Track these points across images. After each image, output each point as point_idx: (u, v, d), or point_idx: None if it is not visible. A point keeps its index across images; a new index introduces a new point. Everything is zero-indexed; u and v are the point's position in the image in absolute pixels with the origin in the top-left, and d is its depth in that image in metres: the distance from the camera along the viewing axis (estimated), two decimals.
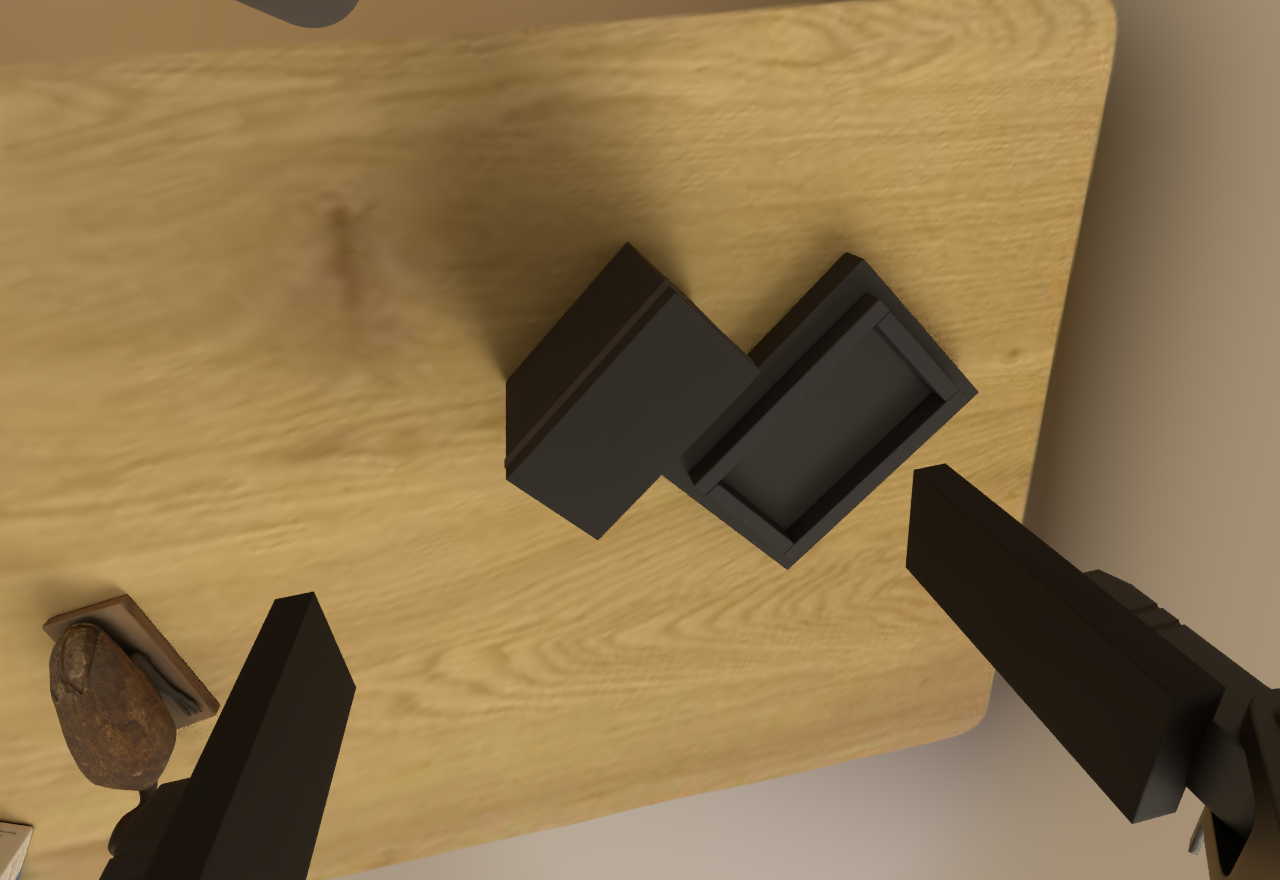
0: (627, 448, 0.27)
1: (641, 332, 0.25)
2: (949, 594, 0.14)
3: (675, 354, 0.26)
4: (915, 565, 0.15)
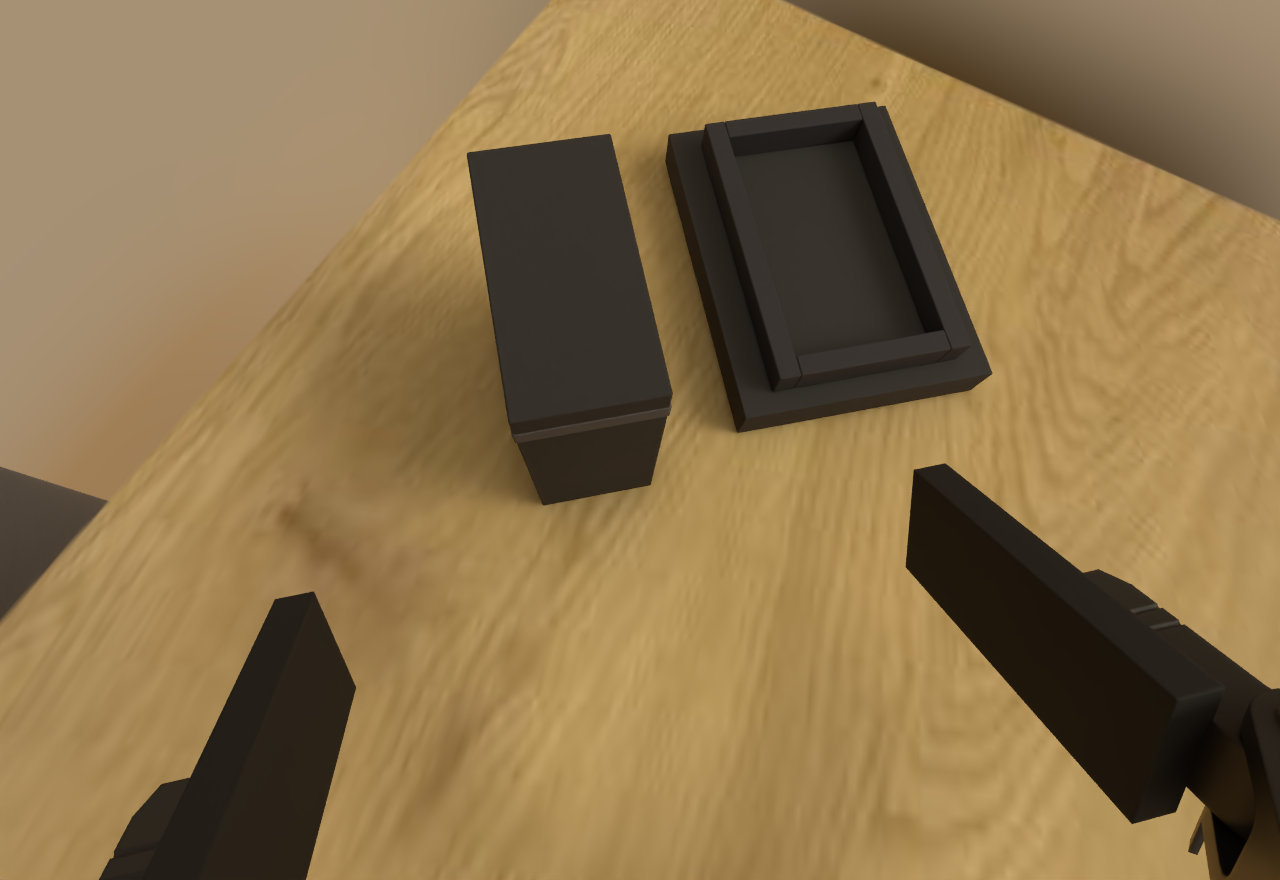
0: (583, 288, 0.21)
1: (476, 199, 0.22)
2: (949, 594, 0.14)
3: (524, 186, 0.22)
4: (915, 565, 0.15)
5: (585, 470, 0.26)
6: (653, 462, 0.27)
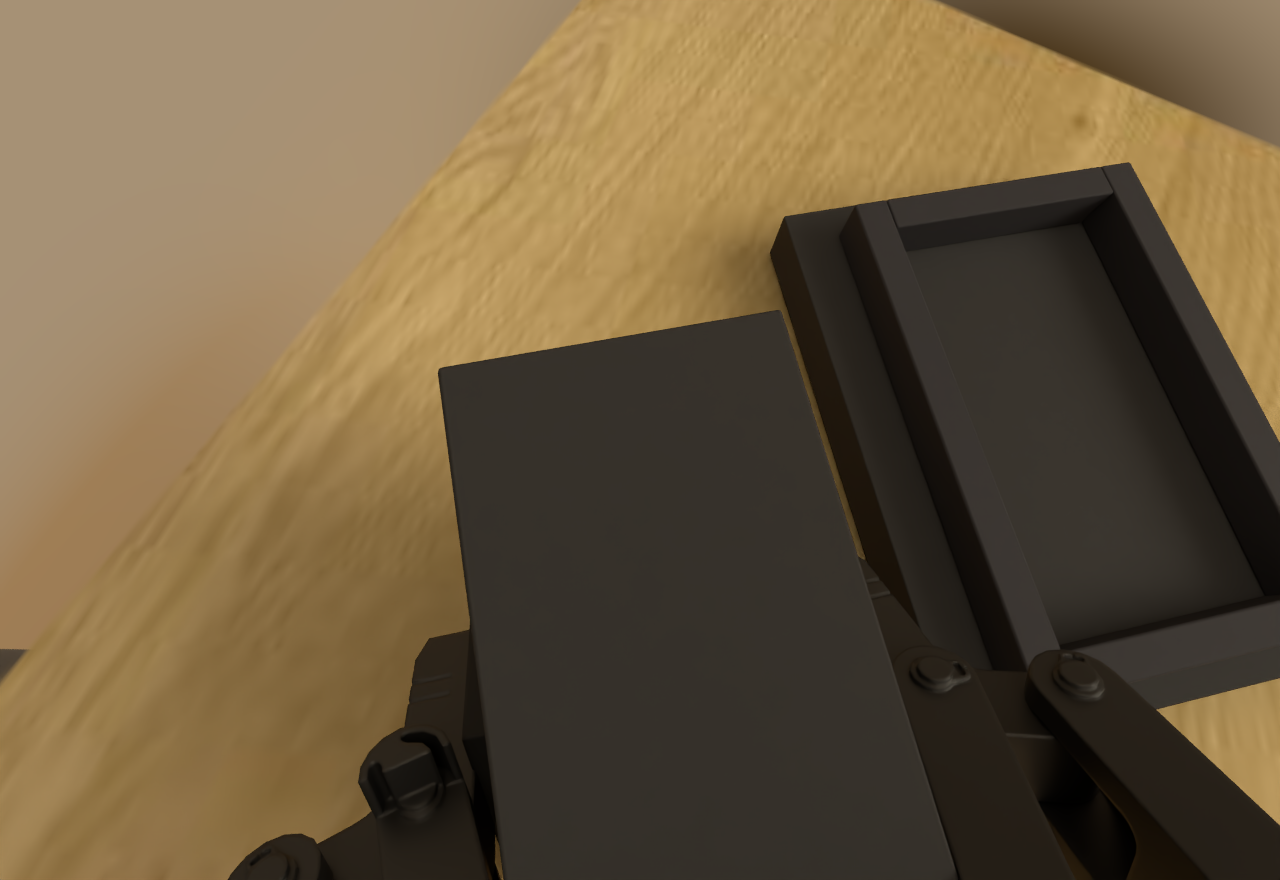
0: (754, 778, 0.08)
1: (462, 502, 0.09)
2: None
3: (583, 461, 0.09)
4: None
5: None
6: None
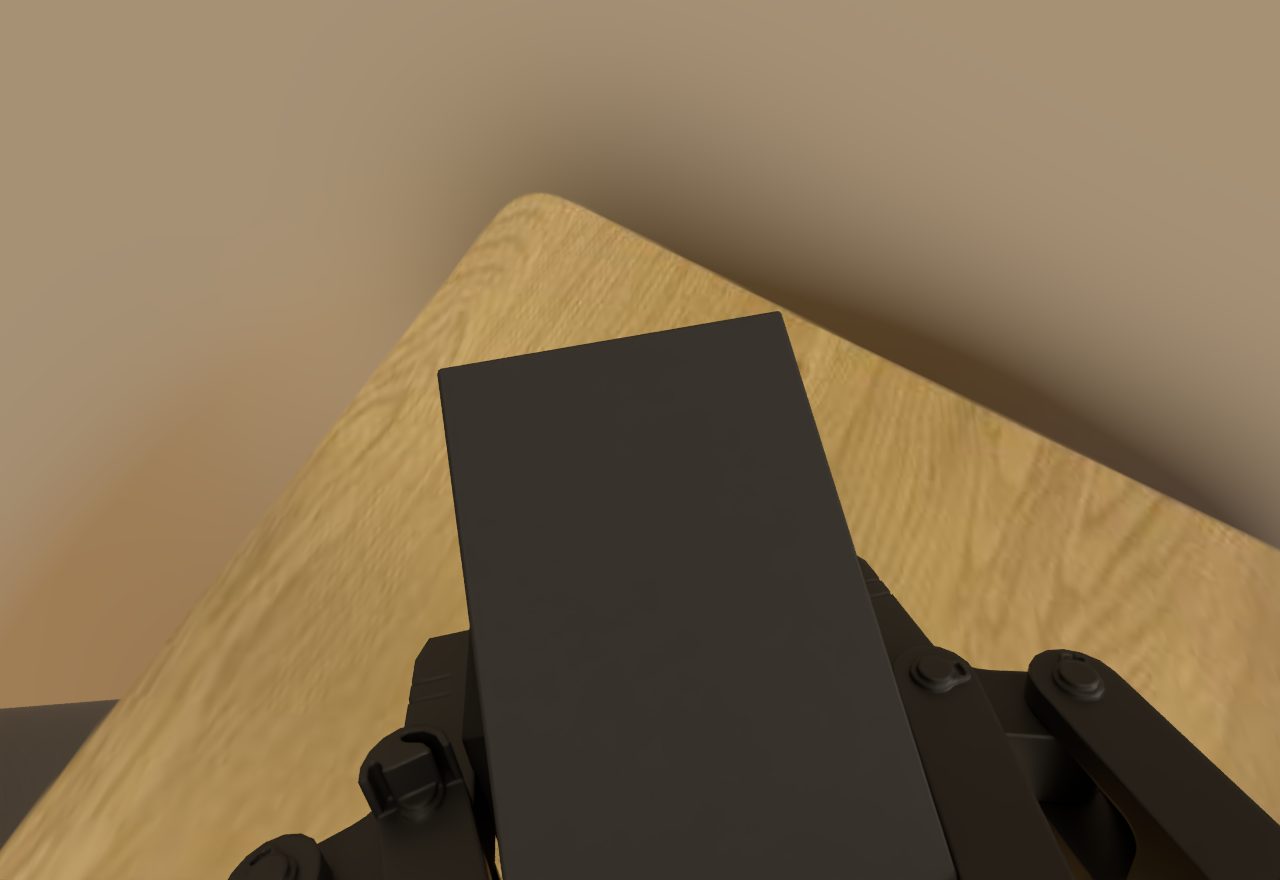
0: (753, 780, 0.08)
1: (461, 503, 0.09)
2: None
3: (582, 463, 0.09)
4: None
5: None
6: None
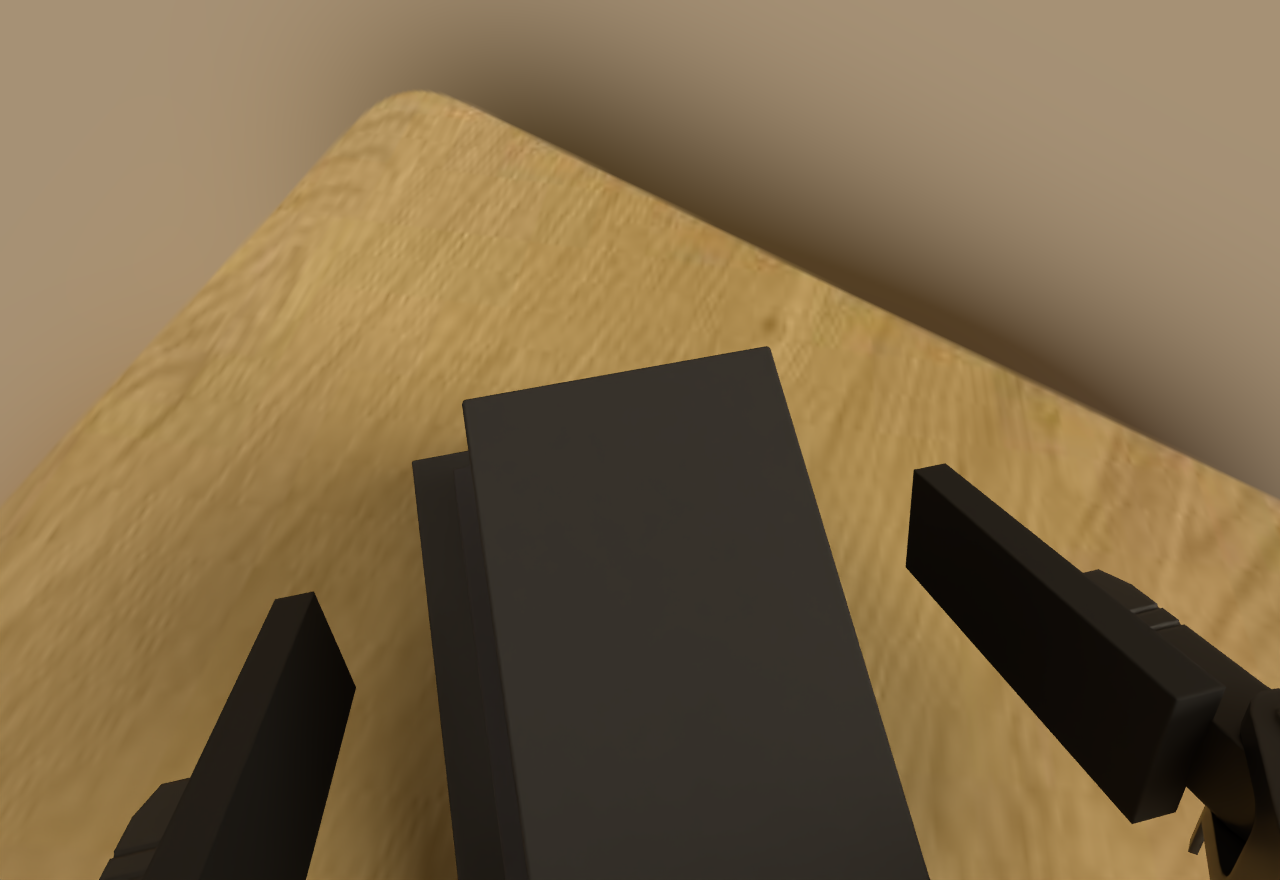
0: (743, 765, 0.09)
1: (484, 521, 0.10)
2: (949, 594, 0.14)
3: (591, 484, 0.10)
4: (915, 565, 0.15)
5: None
6: None
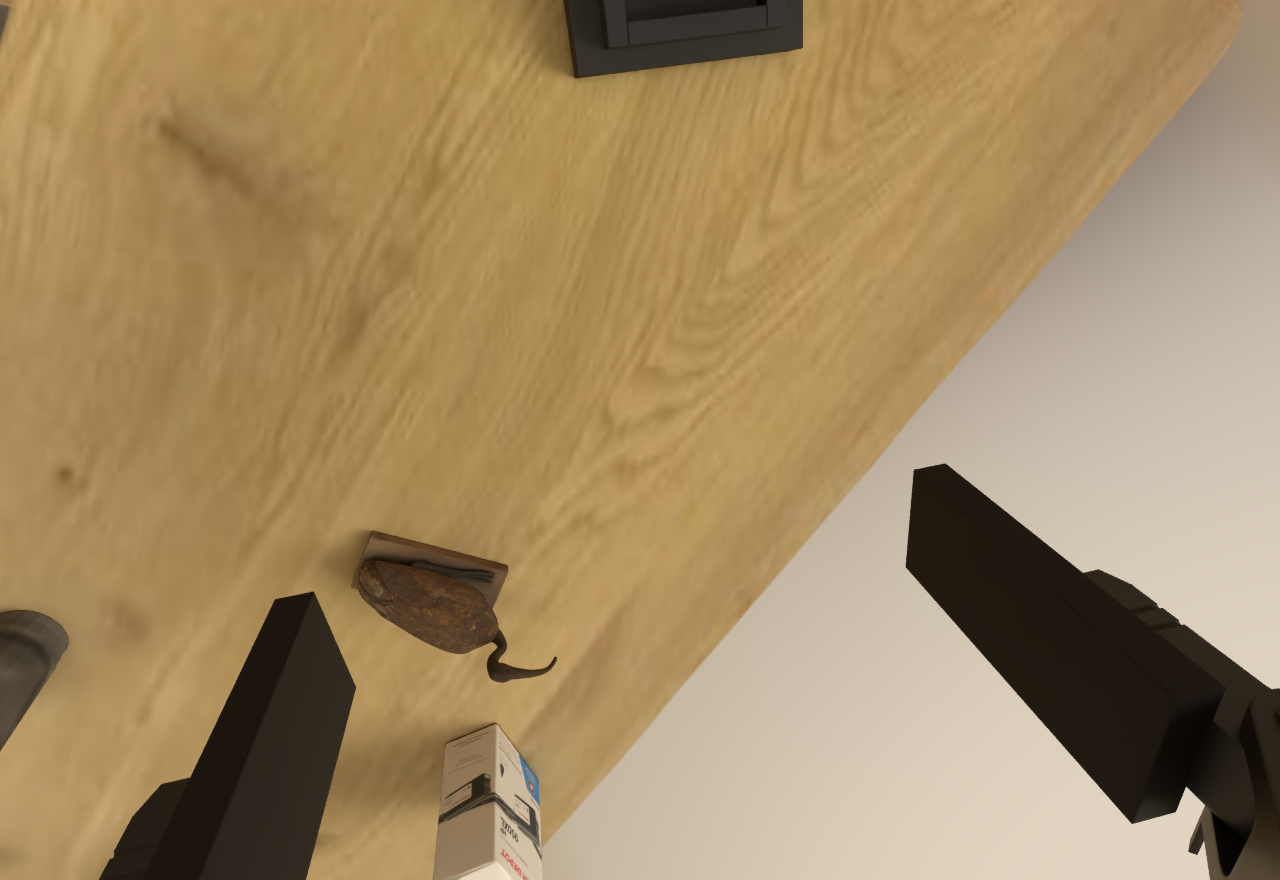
0: None
1: None
2: (949, 594, 0.14)
3: None
4: (915, 565, 0.15)
5: None
6: None
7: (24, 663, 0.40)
